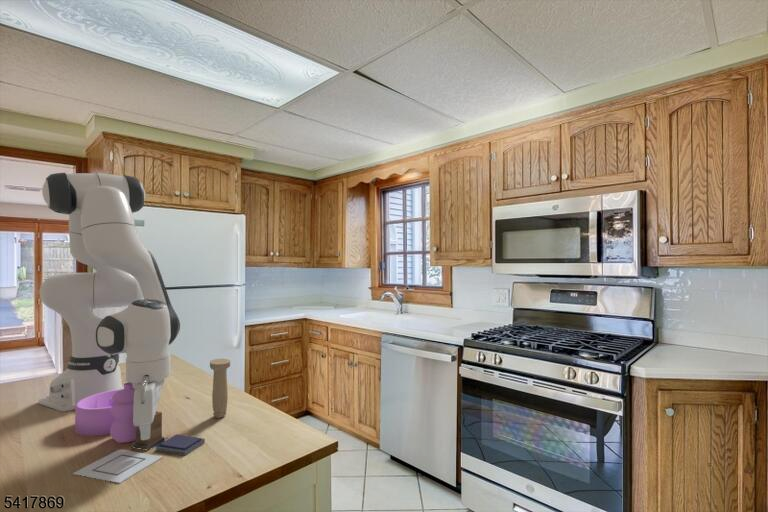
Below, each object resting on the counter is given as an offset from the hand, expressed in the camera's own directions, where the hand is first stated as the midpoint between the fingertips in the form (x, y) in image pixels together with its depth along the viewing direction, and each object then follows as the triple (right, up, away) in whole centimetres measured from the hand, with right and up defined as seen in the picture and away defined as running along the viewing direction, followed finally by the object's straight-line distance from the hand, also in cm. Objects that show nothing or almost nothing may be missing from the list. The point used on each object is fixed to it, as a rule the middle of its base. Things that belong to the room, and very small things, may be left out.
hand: (148, 430), depth 89 cm
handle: (+10, -4, +16) cm, 19 cm away
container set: (-14, -4, +9) cm, 17 cm away
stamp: (0, -3, 0) cm, 3 cm away
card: (-1, -3, -9) cm, 10 cm away
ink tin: (+8, -3, -1) cm, 9 cm away
